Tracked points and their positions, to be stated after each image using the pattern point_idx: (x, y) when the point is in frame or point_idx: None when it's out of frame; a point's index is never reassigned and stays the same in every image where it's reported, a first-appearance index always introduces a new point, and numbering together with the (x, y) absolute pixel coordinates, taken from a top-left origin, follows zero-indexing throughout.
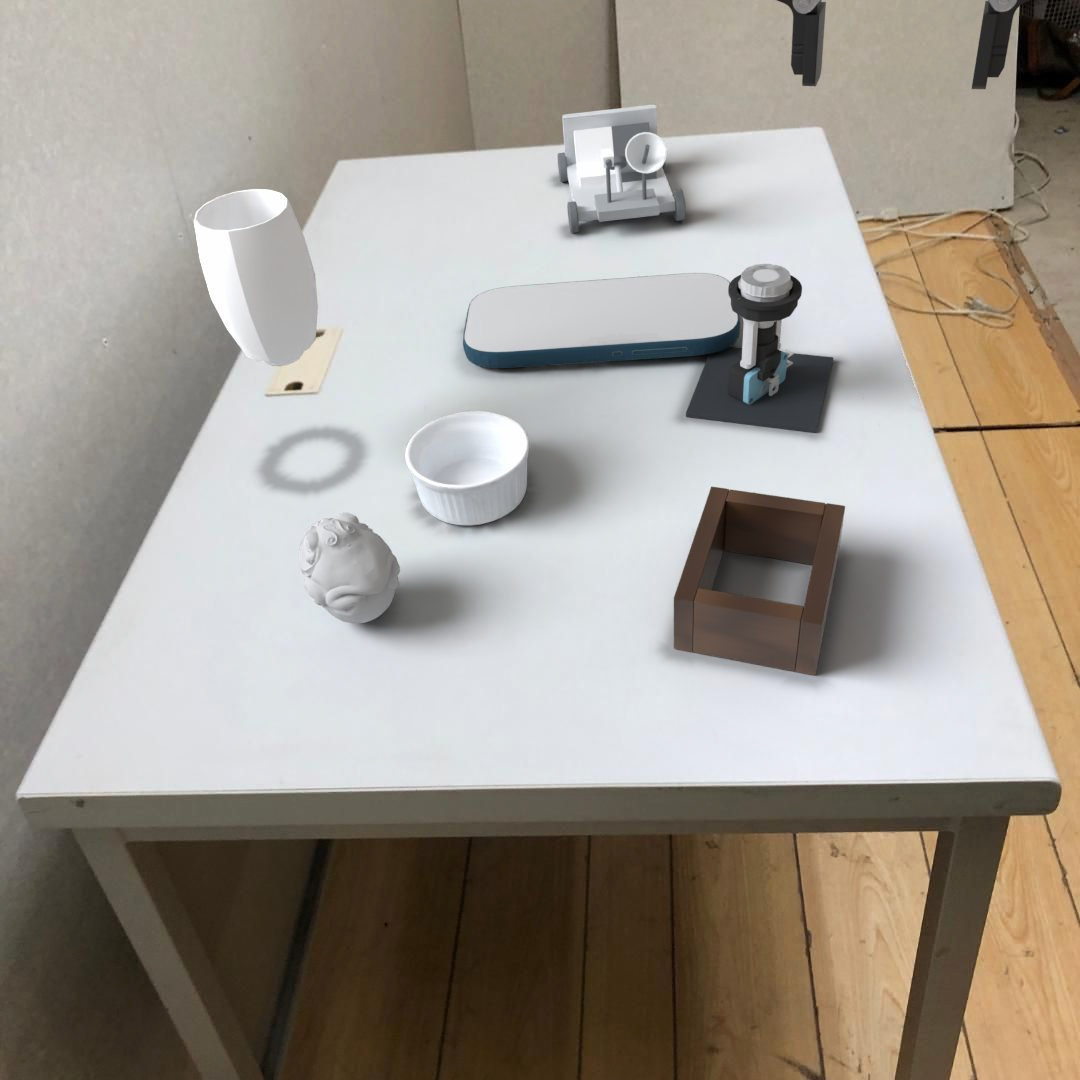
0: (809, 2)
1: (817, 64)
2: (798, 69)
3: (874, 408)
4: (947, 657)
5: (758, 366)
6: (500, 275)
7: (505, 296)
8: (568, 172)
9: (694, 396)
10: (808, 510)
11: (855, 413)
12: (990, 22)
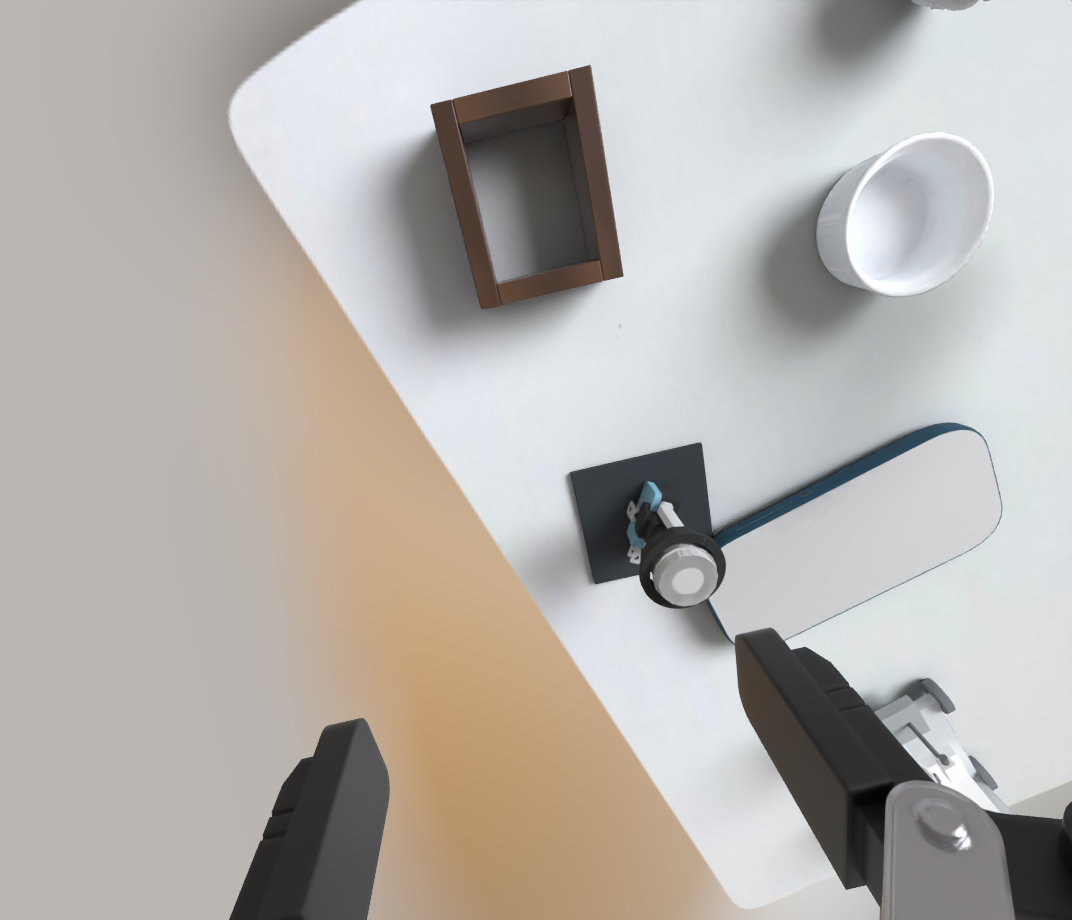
0: (917, 823)
1: (760, 680)
2: (802, 657)
3: (532, 530)
4: (342, 215)
5: (653, 512)
6: (978, 584)
7: (965, 533)
8: (971, 764)
9: (702, 471)
10: (512, 283)
11: (546, 516)
12: (281, 890)
